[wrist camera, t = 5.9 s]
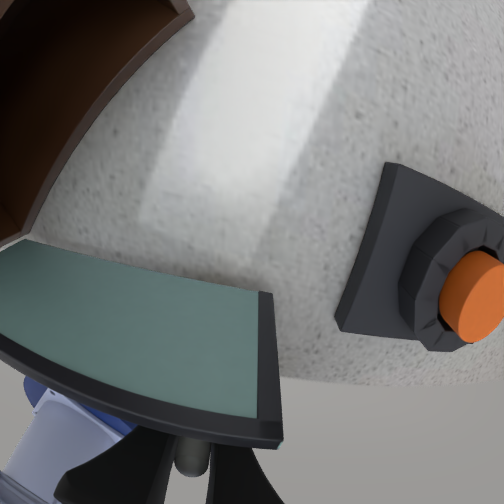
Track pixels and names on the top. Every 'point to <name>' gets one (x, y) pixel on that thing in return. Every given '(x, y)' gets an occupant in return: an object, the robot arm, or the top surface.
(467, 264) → the light button
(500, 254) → the switch block
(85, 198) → the top surface
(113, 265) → the glass door
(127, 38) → the cabinet
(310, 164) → the top surface
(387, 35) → the top surface
